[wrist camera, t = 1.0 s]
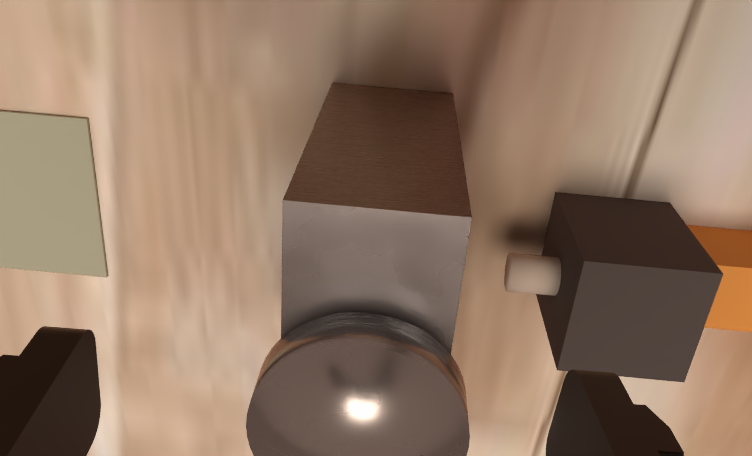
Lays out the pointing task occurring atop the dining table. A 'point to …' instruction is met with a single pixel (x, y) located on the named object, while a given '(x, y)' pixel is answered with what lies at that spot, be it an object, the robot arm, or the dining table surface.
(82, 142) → the pad
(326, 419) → the housing
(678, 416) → the dining table surface
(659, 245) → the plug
